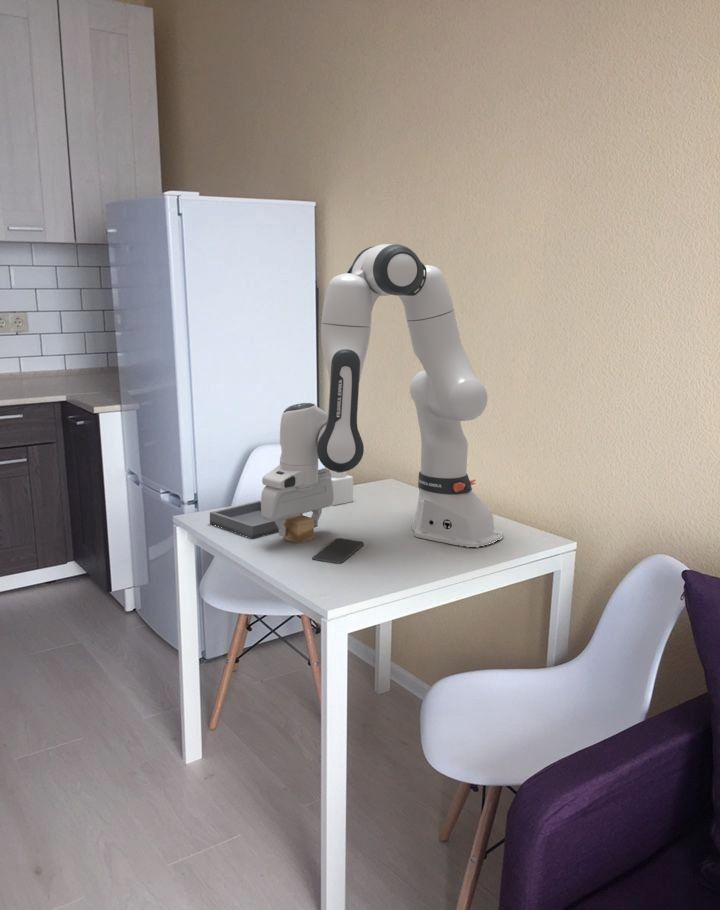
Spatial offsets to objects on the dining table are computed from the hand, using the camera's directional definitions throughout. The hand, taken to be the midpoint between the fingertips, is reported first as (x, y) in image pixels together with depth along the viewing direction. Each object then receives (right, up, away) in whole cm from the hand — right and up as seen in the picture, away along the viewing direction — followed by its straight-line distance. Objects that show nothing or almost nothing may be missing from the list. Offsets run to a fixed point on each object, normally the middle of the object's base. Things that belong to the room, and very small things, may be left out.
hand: (298, 531), depth 188 cm
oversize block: (0, -2, 0) cm, 2 cm away
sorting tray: (-11, +1, +10) cm, 15 cm away
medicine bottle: (+8, +5, +33) cm, 35 cm away
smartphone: (+10, -4, -8) cm, 13 cm away
